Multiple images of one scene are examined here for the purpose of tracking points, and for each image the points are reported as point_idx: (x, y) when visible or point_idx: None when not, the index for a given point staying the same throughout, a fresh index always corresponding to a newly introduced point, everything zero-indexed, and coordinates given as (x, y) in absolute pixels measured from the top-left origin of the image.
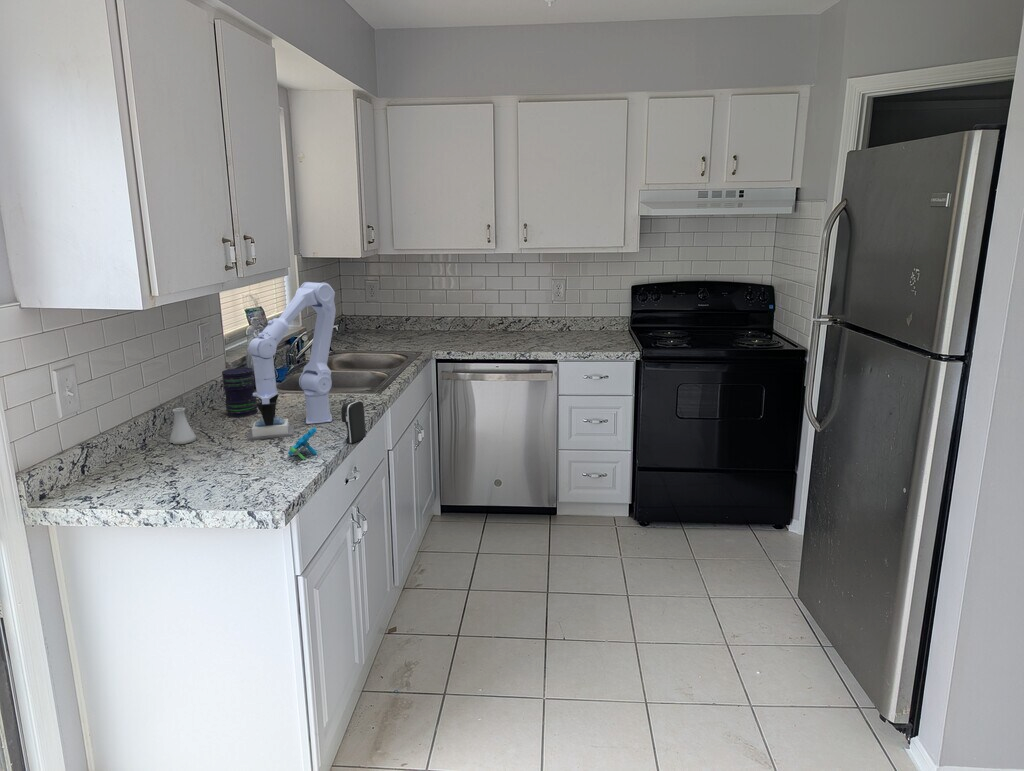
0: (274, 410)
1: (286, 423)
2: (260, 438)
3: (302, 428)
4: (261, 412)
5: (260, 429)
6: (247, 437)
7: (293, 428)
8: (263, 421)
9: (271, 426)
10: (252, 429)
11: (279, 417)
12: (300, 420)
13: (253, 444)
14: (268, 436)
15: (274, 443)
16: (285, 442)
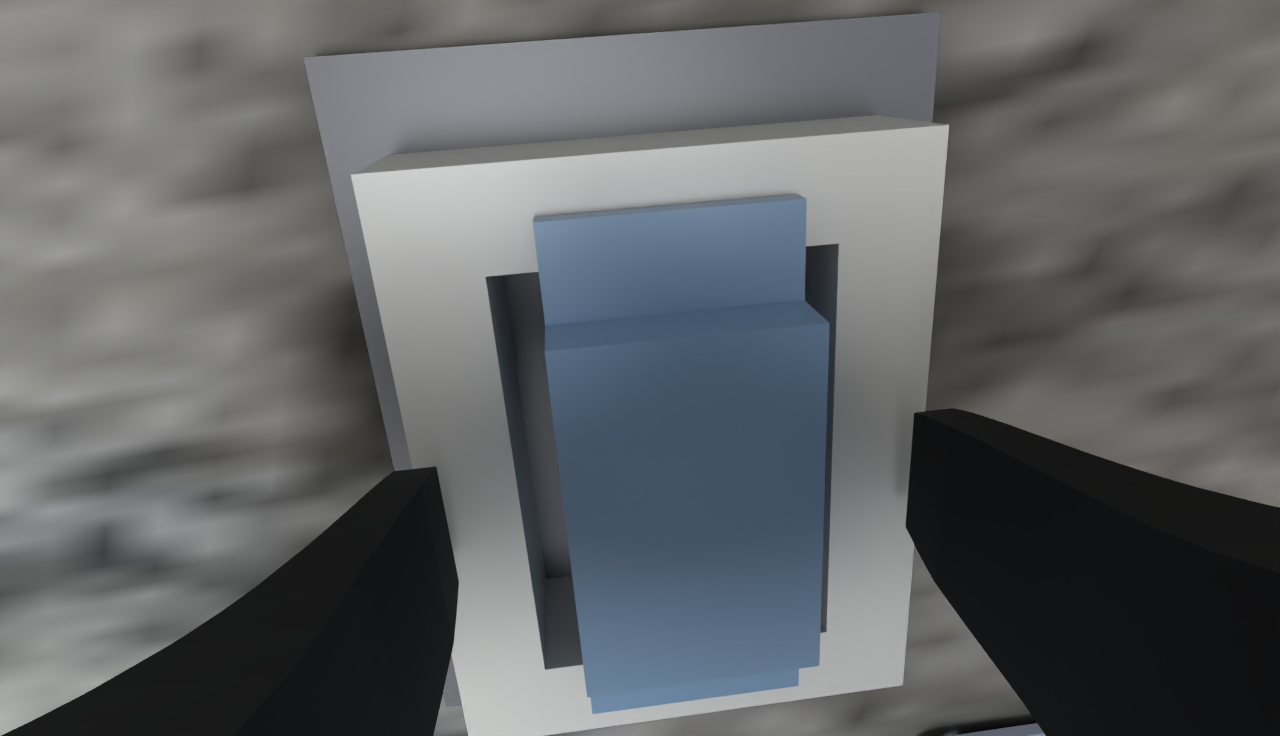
0: (998, 649)
1: (602, 715)
2: (360, 287)
3: (768, 722)
4: (136, 682)
5: (391, 339)
6: (374, 52)
7: None
8: (558, 427)
9: (467, 529)
10: (355, 186)
11: (750, 673)
12: None
13: (56, 216)
14: (383, 414)
15: (101, 525)
16: (144, 650)
